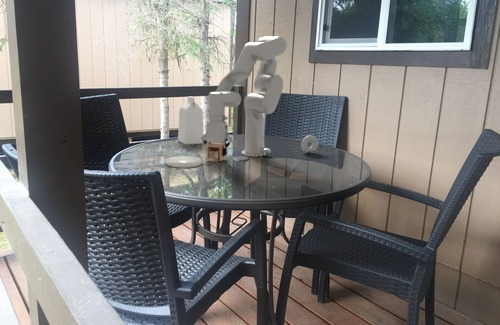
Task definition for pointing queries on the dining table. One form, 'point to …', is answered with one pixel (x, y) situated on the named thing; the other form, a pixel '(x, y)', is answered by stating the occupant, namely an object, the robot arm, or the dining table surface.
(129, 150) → the dining table surface
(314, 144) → the donut
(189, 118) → the milk
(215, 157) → the block
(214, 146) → the cover
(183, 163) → the plate
